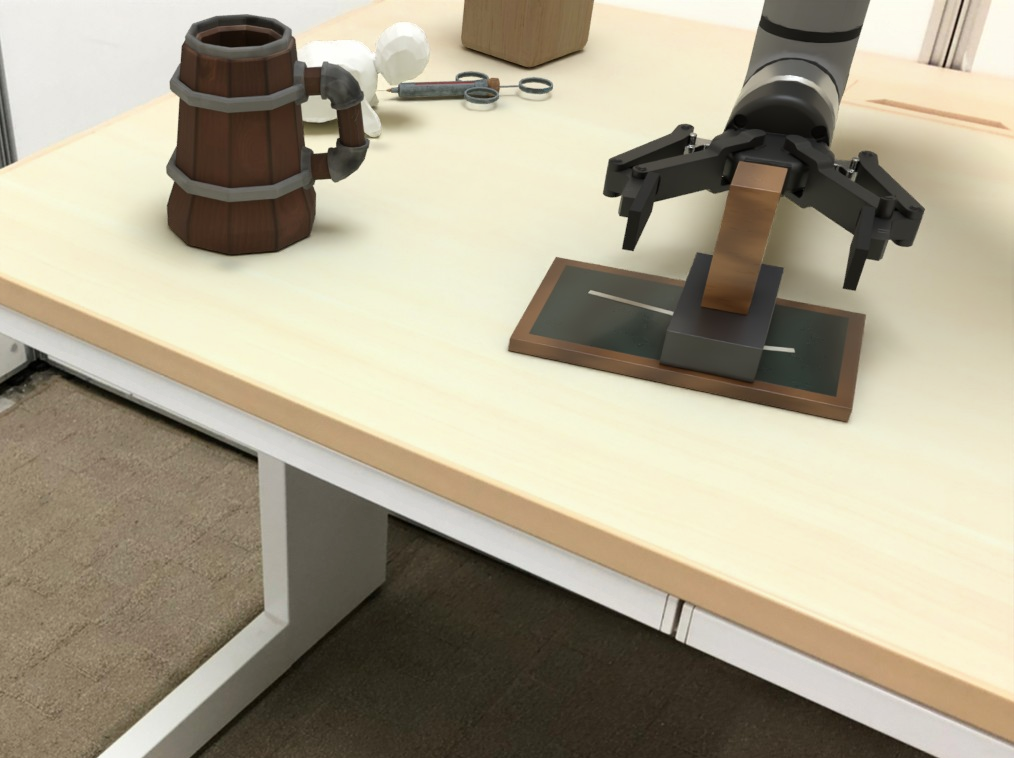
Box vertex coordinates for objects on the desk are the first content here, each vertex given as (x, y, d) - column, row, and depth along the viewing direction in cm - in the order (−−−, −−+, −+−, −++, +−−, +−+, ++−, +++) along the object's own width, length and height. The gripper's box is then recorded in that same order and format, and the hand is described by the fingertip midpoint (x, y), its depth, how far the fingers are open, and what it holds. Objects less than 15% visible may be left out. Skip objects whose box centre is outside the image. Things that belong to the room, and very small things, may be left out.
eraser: (775, 299, 88) (818, 148, 81) (753, 383, 80) (799, 223, 73) (689, 283, 90) (724, 134, 83) (659, 363, 82) (695, 205, 75)
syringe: (363, 85, 124) (364, 68, 123) (541, 79, 125) (543, 62, 124) (374, 114, 118) (375, 96, 117) (561, 108, 119) (563, 90, 118)
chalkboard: (861, 326, 87) (866, 313, 87) (847, 422, 78) (852, 408, 78) (553, 268, 94) (555, 255, 93) (507, 350, 85) (509, 337, 84)
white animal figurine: (292, 168, 116) (447, 110, 112) (257, 83, 110) (419, 19, 107) (293, 133, 122) (440, 77, 118) (260, 50, 117) (413, -11, 113)
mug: (157, 251, 96) (143, 53, 87) (187, 186, 105) (178, 1, 96) (358, 264, 95) (367, 64, 85) (371, 197, 104) (381, 9, 94)
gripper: (943, 205, 91) (935, 342, 76) (604, 153, 99) (537, 268, 84) (980, 103, 86) (979, 228, 71) (620, 56, 94) (552, 160, 79)
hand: (740, 250), depth 78 cm, fingers open, 13 cm apart
